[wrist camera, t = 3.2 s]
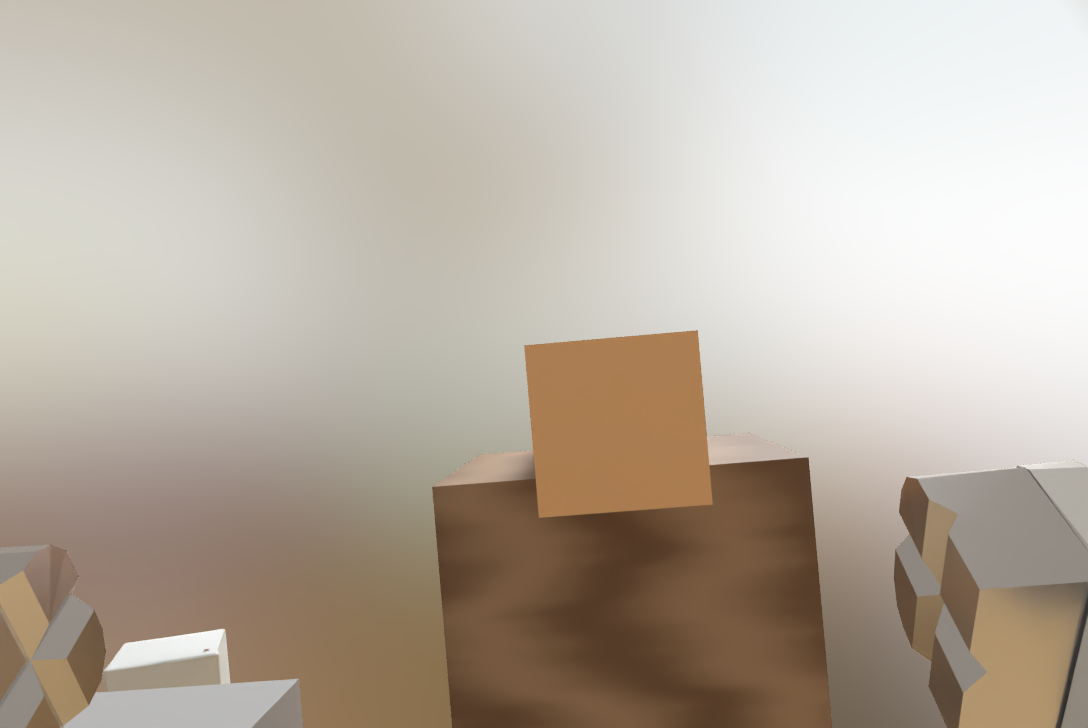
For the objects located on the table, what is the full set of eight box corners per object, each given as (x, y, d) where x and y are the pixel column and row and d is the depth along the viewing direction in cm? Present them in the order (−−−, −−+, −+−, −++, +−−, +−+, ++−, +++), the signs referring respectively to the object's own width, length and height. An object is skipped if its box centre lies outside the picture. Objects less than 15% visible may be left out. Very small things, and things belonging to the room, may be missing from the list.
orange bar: (538, 517, 22) (524, 345, 22) (570, 441, 46) (563, 358, 46) (713, 504, 22) (697, 330, 22) (653, 434, 46) (646, 351, 46)
